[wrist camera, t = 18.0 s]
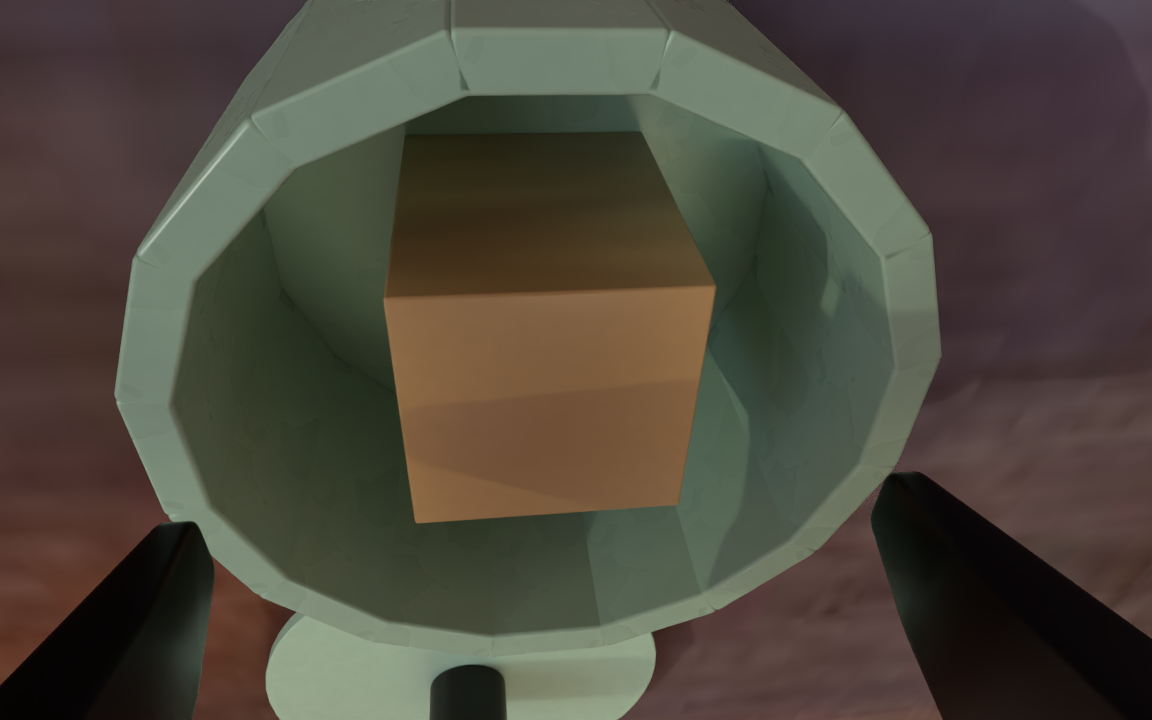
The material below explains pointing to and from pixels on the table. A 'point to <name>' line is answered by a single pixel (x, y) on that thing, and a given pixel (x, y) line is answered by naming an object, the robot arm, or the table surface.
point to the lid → (448, 679)
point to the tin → (361, 345)
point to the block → (542, 325)
